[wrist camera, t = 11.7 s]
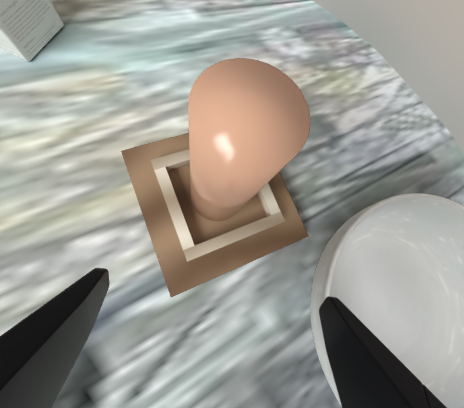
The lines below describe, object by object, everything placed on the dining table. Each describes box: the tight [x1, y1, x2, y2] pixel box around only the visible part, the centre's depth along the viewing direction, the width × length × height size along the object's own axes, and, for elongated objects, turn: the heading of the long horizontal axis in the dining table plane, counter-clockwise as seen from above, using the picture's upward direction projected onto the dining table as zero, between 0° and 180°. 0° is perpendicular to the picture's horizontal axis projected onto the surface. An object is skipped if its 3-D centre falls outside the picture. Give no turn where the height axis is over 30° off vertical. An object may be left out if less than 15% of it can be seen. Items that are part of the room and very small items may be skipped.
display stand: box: [121, 133, 308, 297], centre depth 21 cm, size 14×14×3 cm
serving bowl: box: [310, 193, 464, 408], centre depth 20 cm, size 21×21×7 cm
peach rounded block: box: [188, 58, 310, 221], centre depth 15 cm, size 5×5×13 cm
